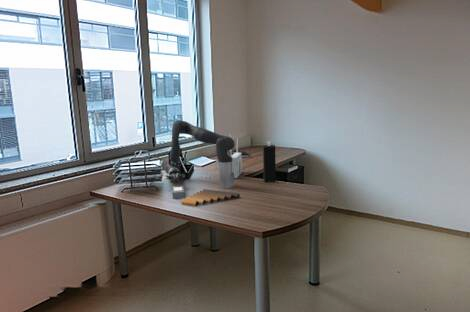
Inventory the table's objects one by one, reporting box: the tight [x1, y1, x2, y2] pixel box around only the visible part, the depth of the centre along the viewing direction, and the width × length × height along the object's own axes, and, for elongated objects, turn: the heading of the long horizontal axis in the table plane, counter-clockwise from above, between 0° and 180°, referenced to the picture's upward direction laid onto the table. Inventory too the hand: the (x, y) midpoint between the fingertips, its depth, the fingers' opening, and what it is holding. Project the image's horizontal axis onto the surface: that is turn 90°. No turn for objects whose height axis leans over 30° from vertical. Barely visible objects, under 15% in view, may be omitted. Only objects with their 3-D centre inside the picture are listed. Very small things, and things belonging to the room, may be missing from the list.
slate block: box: [171, 185, 185, 199], centre depth 226 cm, size 4×7×16 cm
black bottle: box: [262, 140, 277, 183], centre depth 248 cm, size 8×8×28 cm
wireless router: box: [228, 133, 251, 159], centre depth 345 cm, size 34×23×20 cm
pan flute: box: [180, 188, 241, 207], centre depth 211 cm, size 25×3×25 cm
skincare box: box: [230, 153, 243, 179], centre depth 269 cm, size 21×5×16 cm, turn 168°
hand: (176, 179), depth 231 cm, fingers closed
